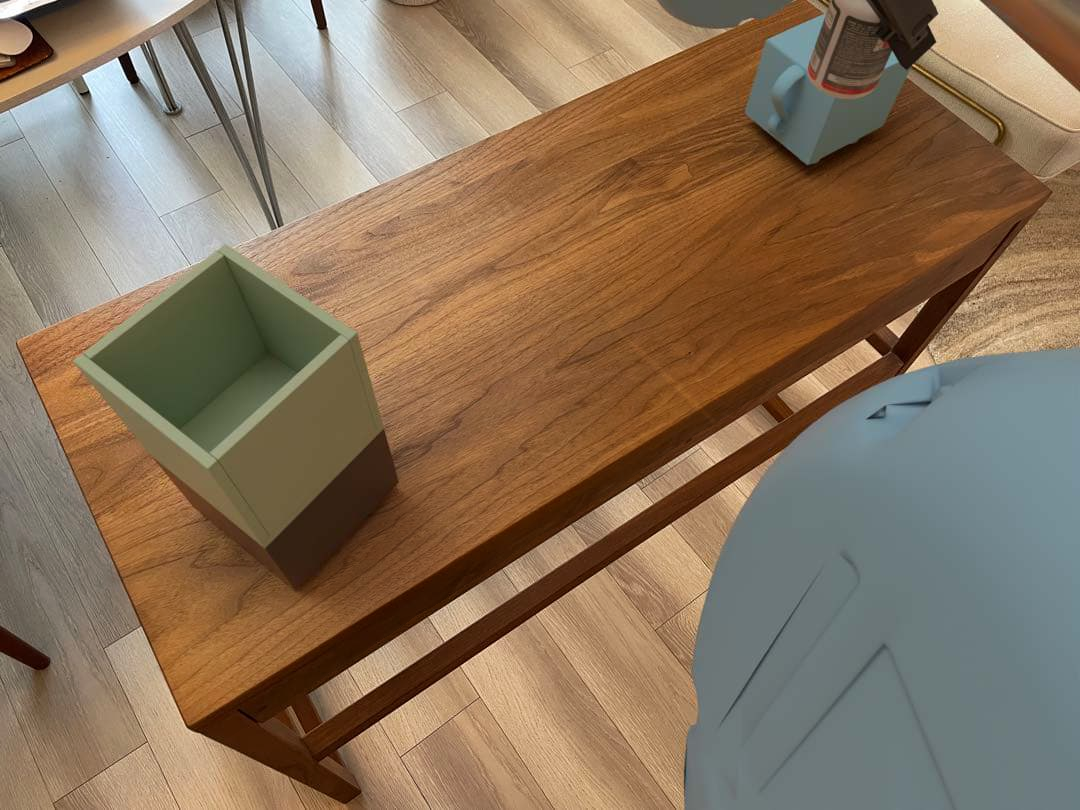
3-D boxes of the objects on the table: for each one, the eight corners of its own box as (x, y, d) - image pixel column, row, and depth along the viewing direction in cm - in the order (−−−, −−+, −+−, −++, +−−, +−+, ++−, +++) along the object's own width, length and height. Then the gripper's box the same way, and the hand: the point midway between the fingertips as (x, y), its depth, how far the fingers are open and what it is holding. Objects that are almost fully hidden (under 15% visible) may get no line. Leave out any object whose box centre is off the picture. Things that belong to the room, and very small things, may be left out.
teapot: (786, 185, 95) (825, 85, 83) (724, 132, 100) (752, 30, 88) (910, 119, 102) (962, 18, 90) (847, 73, 107) (888, -29, 95)
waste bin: (296, 592, 68) (207, 469, 48) (193, 506, 71) (71, 360, 52) (399, 482, 73) (357, 332, 54) (298, 408, 77) (225, 243, 57)
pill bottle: (890, 85, 65) (946, -37, 56) (844, 111, 63) (895, -11, 55) (836, 49, 67) (883, -73, 59) (790, 74, 65) (832, -49, 57)
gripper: (651, -177, 51) (785, 7, 69) (828, -27, 42) (929, 139, 60) (739, -294, 48) (856, -69, 66) (951, -157, 39) (1019, 59, 57)
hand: (891, 30), depth 63 cm, fingers closed on pill bottle, 6 cm apart
